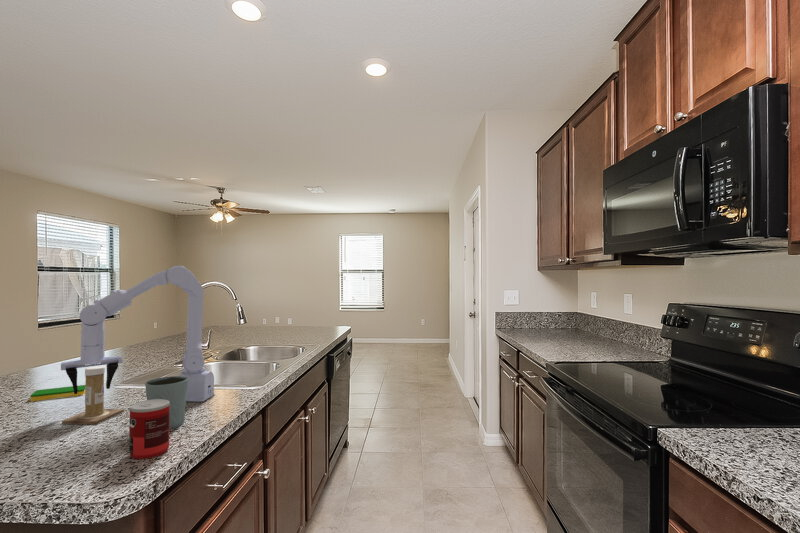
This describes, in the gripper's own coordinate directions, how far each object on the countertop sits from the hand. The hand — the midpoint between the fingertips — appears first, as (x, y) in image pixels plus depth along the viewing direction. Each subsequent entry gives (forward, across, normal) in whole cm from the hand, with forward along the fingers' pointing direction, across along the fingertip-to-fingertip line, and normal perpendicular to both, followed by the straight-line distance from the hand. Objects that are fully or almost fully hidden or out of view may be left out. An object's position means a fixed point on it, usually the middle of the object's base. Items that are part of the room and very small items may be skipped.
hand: (92, 390), depth 120 cm
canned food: (+6, -7, +44) cm, 45 cm away
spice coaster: (+6, 0, +7) cm, 9 cm away
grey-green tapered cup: (+6, -14, +27) cm, 31 cm away
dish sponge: (+7, +6, -28) cm, 29 cm away
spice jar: (+6, 0, +7) cm, 9 cm away
